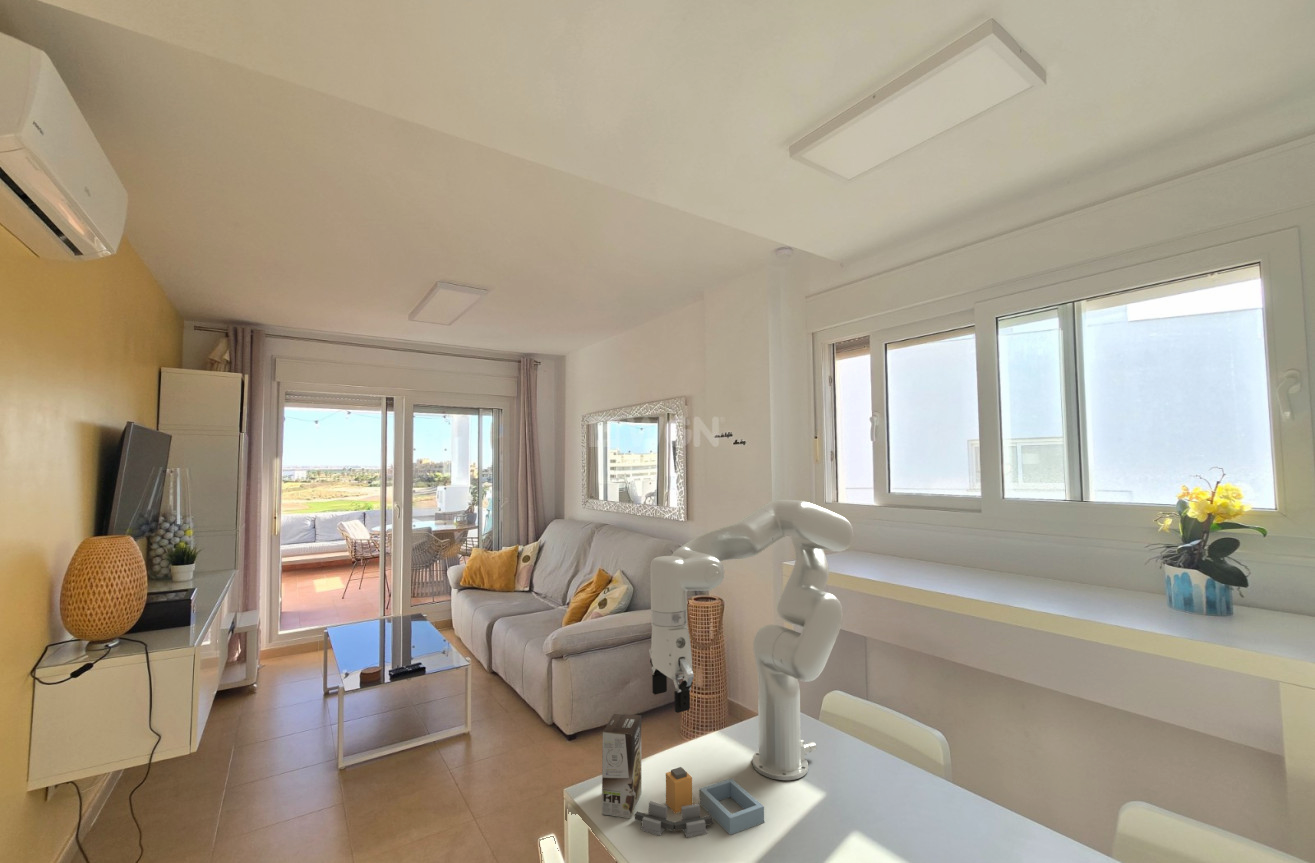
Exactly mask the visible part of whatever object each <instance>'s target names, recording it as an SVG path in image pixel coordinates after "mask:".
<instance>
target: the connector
mask: <svg viewBox="0 0 1315 863" xmlns="http://www.w3.org/2000/svg"><path fill="white" fill-rule="evenodd" d="M665 805H667V807H668V808H670V810H671V811H672V812H673V813H674V814H676V815H677V814H678V813H681V807H682V806H687V805H693V776H691V774H689V773H688V772H687V771H686V770H685V769H684V768H683V767H681V766H680V767H679V766H678V767H676V768H673V769H670V771H668V772H665Z"/></svg>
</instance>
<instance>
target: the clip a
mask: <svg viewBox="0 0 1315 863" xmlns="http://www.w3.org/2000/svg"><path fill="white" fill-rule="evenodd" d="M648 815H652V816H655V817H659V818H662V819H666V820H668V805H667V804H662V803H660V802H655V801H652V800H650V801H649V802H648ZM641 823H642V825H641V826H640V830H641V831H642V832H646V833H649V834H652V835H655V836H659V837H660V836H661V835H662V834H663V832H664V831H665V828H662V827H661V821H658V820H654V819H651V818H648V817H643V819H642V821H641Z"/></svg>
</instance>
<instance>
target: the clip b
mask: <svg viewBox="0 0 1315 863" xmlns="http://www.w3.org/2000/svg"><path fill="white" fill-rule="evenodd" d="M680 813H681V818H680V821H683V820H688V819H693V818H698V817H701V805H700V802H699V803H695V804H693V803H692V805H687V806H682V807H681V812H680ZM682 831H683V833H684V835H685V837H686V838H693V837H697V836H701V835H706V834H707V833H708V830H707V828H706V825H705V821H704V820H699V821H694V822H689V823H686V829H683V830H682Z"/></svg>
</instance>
